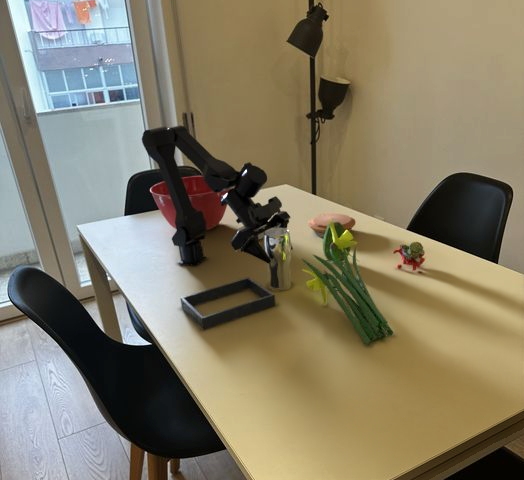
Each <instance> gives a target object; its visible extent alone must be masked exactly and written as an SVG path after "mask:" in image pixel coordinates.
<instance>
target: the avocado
mask: <svg viewBox="0 0 524 480" xmlns="http://www.w3.org/2000/svg"><path fill="white" fill-rule="evenodd" d="M333 224H334V227H335V230H336V233H337V236H338V239H339V238H340V237H341V236H342V235H343V233H344V232H345V229H344V227H343V226H342V224H341V223H339V222H333ZM331 243H334V242H333V236H332V231H331V229H330V224H329V225H328V226H327V228H326V231H325V235H324V238H322V251H323V255H324V257H325V258H326V260H332V261H333V260H334V259H333V258H332V256H331V254H330V245H331ZM345 249H346V250H347V251H348V252H349V254H350V252H351V246H350V247H346V248H345ZM334 252H335V254H336V256H337V257H338V258H339V260H340V261H341V263H343V262H345V261H344V253H343V251H342V250H340V249H338V248H337V249H336V250H335V251H334ZM349 254H347V253H346V255H347V256H348V257H349V256H350V255H349Z"/></svg>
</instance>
